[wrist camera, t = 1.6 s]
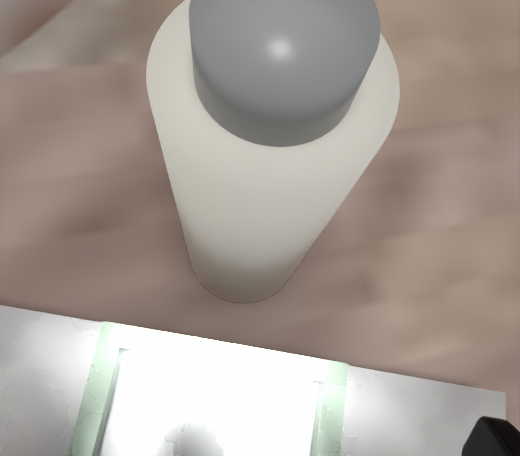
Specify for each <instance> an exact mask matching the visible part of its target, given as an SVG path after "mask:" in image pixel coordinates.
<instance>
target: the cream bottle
mask: <svg viewBox="0 0 520 456" xmlns="http://www.w3.org/2000/svg"><path fill="white" fill-rule="evenodd" d="M146 79H147V90H148V95H149V100H150V104H151V108H152V112H153V116H154V120H155V124H156V128H157V132H158V136H159V140H160V144H161V148H162V152H163V155H164V159H165V163H166V167H167V171H168V175H169V179H170V183H171V187H172V191H173V195H174V199H175V203H176V207H177V210H178V214H179V218H180V222H181V226H182V230H183V234H184V238H185V242H186V246H187V250H188V254H189V258H190V261H191V265H192V268H193V271H194V273H195V275H196V277H197V278H198V280H199V281H200V283H201V284H202V285H203V286H204V287H205V288H206V289H207V290H208V291H210V292H211V293H212V294H214V295H215V296H217V297H219V298H221V299H224V300H226V301H230V302H235V303H253V302H257V301H261V300H264V299H266V298H268V297H270V296H272V295H273V294H275V293H276V292H278V291H279V290H280V289H281V288H282V287H283V286H284V285H285V284H286V282H287V281H288V280H289V278H290V277H291V275H292V274H293V272H294V271H295V270H296V268H297V267H298V265H299V264H300V262H301V261H302V260H303V258H304V257H305V255H306V254H307V252H308V251H309V249H310V248H311V247H312V245H313V244H314V242H315V241H316V239H317V238H318V237H319V235H320V234H321V232H322V231H323V229H324V228H325V226H326V225H327V224H328V222H329V221H330V219H331V218H332V216H333V215H334V213H335V212H336V211H337V209H338V208H339V206H340V205H341V203H342V202H343V201H344V199H345V198H346V196H347V195H348V193H349V192H350V190H351V189H352V188H353V186H354V185H355V183H356V182H357V180H358V179H359V178H360V176H361V175H362V173H363V172H364V170H365V169H366V167H367V166H368V165H369V163H370V162H371V160H372V159H373V157H374V156H375V154H376V153H377V152H378V150H379V149H380V147H381V146H382V144H383V143H384V141H385V139H386V138H387V136H388V134H389V133H390V131H391V128H392V126H393V123H394V121H395V118H396V114H397V110H398V105H399V93H400V87H399V76H398V72H397V68H396V63H395V60H394V58H393V55H392V53H391V50H390V48H389V46H388V44H387V43H386V41H385V39H384V37H383V36H382V34H381V33H380V19H379V15H378V11H377V8H376V5H375V3H374V0H185V1H184V2H182V3H181V4H180V5H179V6H178V7H177V8H176V9H174V11H173V12H172V13H171V14H170V15H169V16H168V17H167V19H166V20H165V21H164V23H163V24H162V26H161V27H160V29H159V30H158V32H157V34H156V36H155V38H154V41H153V43H152V45H151V49H150V53H149V56H148V62H147V70H146Z"/></svg>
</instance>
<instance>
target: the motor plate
mask: <svg viewBox="0 0 520 456" xmlns="http://www.w3.org/2000/svg"><path fill="white" fill-rule="evenodd" d="M348 365H349V364H348V363H342V362H336V361H330V360H325V359H319V358H313V357H307V356H302V355H296V354H290V353H284V352H279V351H273V350H267V349H261V348H256V347H250V346H244V345H238V344H233V343H227V342H221V341H216V340H210V339H204V338H198V337H193V336H187V335H181V334H175V333H170V332H164V331H158V330H152V329H147V328H141V327H135V326H129V325H124V324H118V323H112V322H106V321H103V323H101V322H95V321H89V320H83V319H78V318H72V317H66V316H60V315H55V314H49V313H43V312H38V311H32V310H26V309H20V308H15V307H9V306H3V305H0V456H461V451H462V447H463V445H464V443H465V441H466V439H467V438H468V436H469V434H470V432H471V430H472V429H473V427H474V425H475V423H476V421H477V420H478V419H479V418H480V417H482V416H488V417H494V418H500V419H504V420H506V393H503V392H497V391H491V390H486V389H480V388H474V387H468V386H463V385H457V384H451V383H445V382H440V381H434V380H428V379H422V378H417V377H411V376H405V375H399V374H394V373H388V372H382V371H376V370H371V369H365V368H359V367H353V366H348Z"/></svg>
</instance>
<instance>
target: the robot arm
mask: <svg viewBox="0 0 520 456" xmlns="http://www.w3.org/2000/svg"><path fill="white" fill-rule="evenodd" d="M461 456H520V432H519V431H518V430H517V429H516V428H515V427H514V426H513V425H512V424H511V423H509V422H508V421H506V420H504V419H500V418H494V417H488V416H482V417H480V418H479V419H478V420H477V421H476V423H475V425H474V427H473V429H472V430H471V432H470V434H469V436H468V438H467V439H466V441H465V443H464V445H463V447H462V451H461Z"/></svg>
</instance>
